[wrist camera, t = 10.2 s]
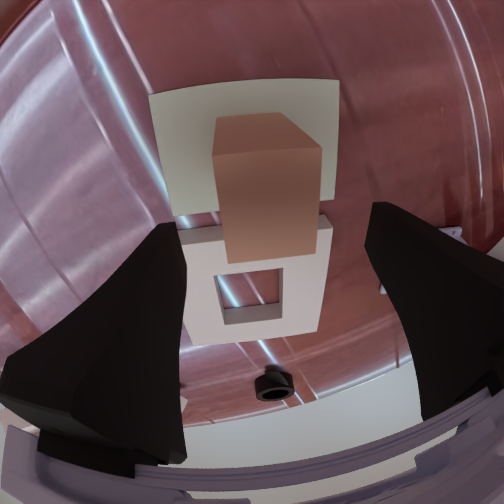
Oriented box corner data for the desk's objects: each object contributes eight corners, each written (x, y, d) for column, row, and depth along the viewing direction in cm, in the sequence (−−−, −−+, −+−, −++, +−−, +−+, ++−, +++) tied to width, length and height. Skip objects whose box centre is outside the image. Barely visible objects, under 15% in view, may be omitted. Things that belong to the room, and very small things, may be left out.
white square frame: (324, 214, 21) (333, 228, 20) (312, 316, 29) (316, 331, 28) (160, 233, 21) (155, 248, 19) (194, 330, 29) (194, 346, 27)
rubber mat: (336, 80, 15) (339, 80, 14) (332, 197, 20) (333, 199, 20) (149, 94, 14) (148, 95, 14) (174, 213, 20) (173, 216, 19)
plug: (280, 112, 16) (322, 147, 9) (282, 181, 19) (315, 253, 12) (216, 117, 15) (211, 156, 9) (225, 187, 19) (227, 263, 12)
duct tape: (311, 365, 38) (315, 382, 36) (277, 391, 43) (279, 406, 41) (267, 360, 35) (269, 378, 33) (236, 388, 40) (238, 403, 38)
